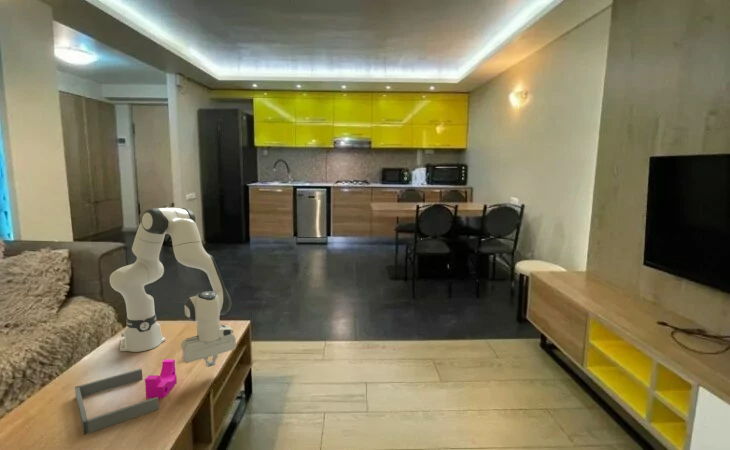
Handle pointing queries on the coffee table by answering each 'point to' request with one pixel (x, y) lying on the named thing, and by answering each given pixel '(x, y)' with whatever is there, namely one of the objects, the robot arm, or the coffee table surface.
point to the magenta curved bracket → (161, 380)
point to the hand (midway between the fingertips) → (210, 365)
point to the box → (116, 415)
